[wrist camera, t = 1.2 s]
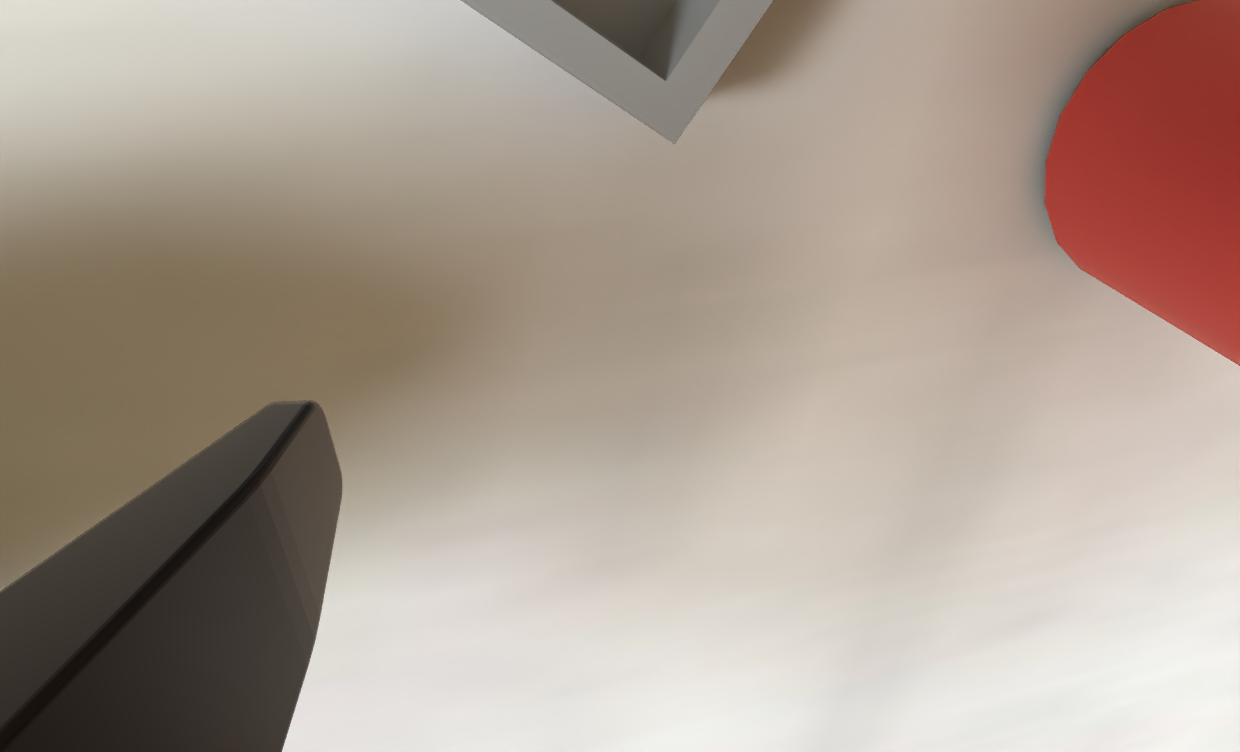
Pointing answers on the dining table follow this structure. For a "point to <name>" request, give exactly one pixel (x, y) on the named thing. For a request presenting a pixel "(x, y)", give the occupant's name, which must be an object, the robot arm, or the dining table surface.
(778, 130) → the dining table surface
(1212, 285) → the beer can
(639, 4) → the tray
